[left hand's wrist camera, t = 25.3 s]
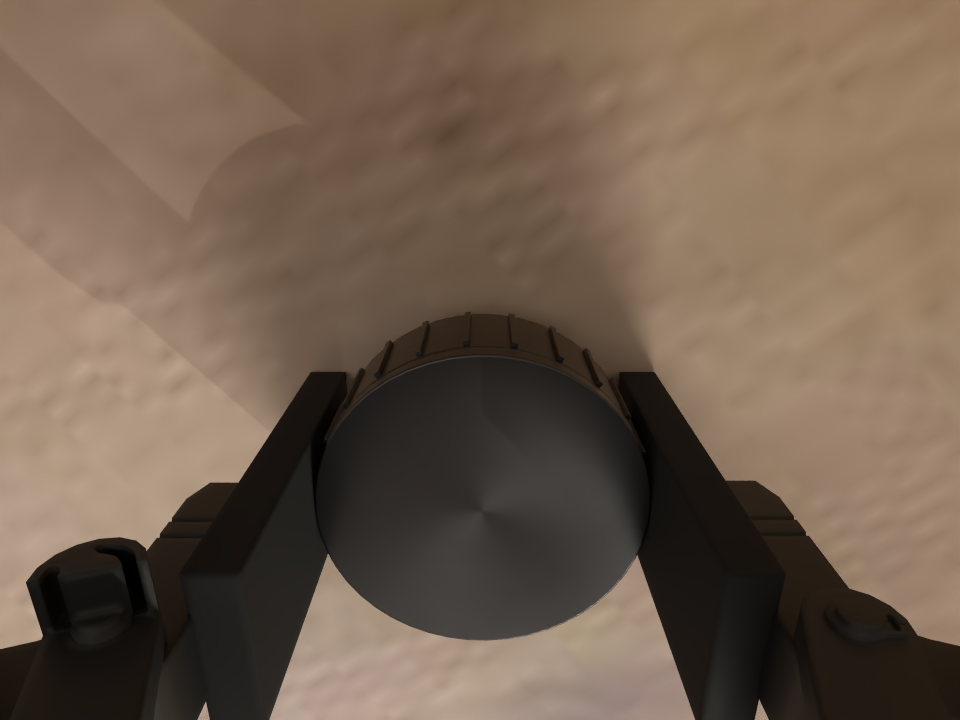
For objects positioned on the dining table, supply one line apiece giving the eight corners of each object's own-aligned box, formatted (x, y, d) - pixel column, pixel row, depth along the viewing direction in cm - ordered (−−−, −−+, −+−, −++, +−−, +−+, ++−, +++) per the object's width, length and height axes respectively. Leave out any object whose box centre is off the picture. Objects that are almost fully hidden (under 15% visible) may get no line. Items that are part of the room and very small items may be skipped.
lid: (372, 584, 15) (354, 661, 13) (302, 335, 13) (267, 380, 11) (639, 550, 15) (664, 624, 12) (615, 286, 12) (642, 323, 10)
